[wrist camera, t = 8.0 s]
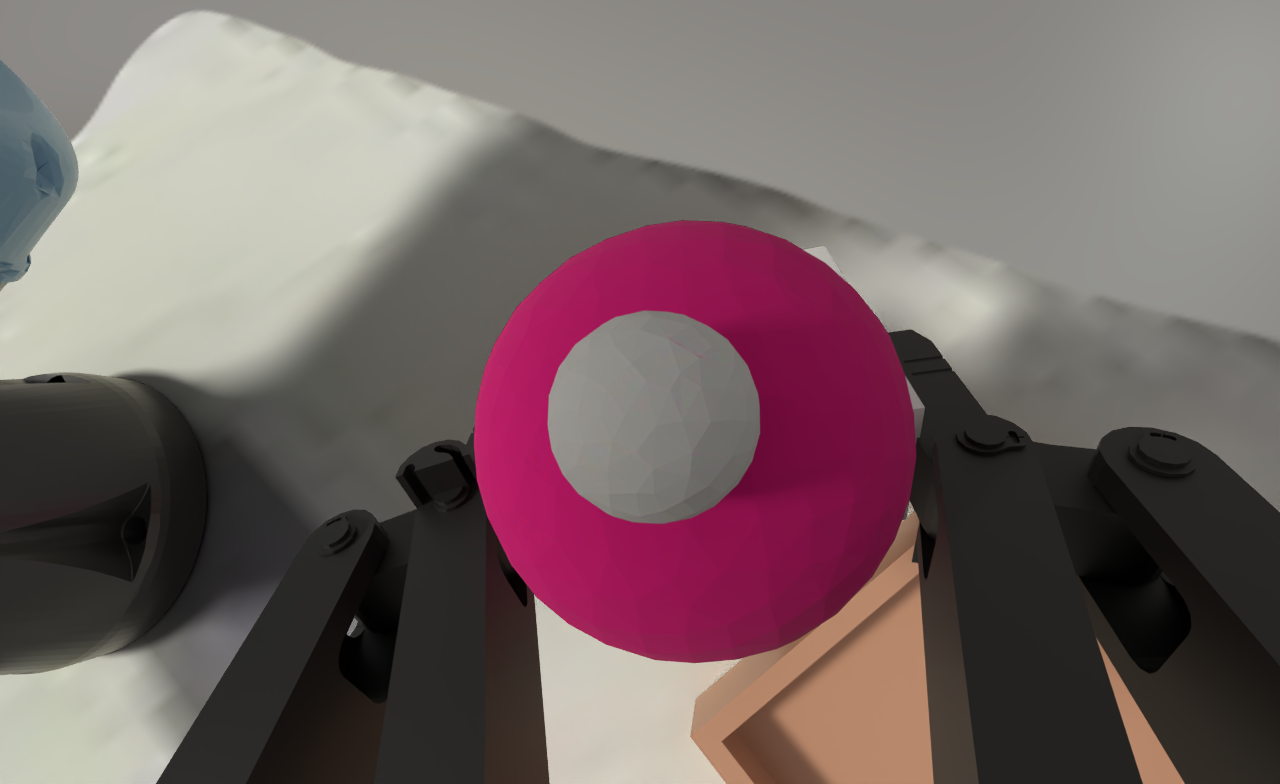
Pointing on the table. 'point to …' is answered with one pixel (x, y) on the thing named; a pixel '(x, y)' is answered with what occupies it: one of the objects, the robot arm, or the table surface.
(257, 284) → the table surface
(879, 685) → the terracotta tray
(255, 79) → the table surface
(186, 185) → the table surface
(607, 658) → the table surface
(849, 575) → the pepper mill
